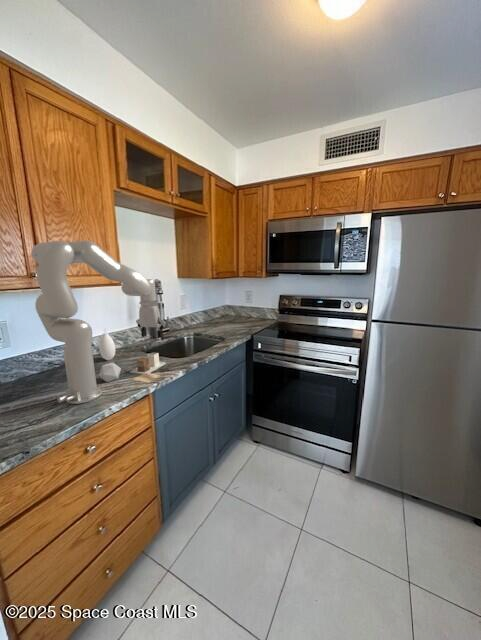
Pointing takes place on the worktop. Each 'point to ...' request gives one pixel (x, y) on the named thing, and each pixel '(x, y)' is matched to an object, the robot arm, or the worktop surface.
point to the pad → (146, 377)
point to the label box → (153, 359)
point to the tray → (148, 370)
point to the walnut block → (143, 364)
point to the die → (109, 372)
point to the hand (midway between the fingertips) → (152, 336)
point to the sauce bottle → (107, 347)
